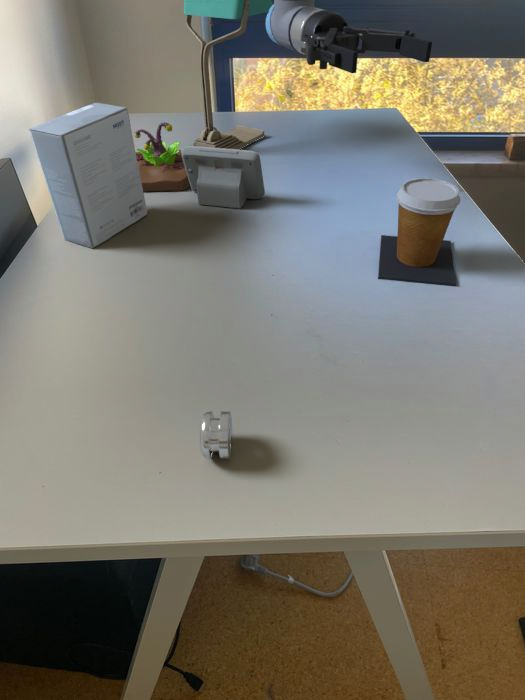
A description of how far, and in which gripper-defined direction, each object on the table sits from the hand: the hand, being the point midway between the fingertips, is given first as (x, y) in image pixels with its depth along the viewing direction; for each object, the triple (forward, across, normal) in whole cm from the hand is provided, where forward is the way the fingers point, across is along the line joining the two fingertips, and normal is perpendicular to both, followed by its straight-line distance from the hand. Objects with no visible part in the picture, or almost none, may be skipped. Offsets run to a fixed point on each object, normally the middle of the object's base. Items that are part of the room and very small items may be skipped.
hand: (393, 57), depth 77 cm
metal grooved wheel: (+35, +45, -28) cm, 64 cm away
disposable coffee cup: (+13, 0, -28) cm, 31 cm away
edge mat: (+13, 0, -28) cm, 31 cm away
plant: (-43, +26, -28) cm, 58 cm away
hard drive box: (-24, +44, -28) cm, 57 cm away
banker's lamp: (-53, +5, -28) cm, 60 cm away
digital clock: (-24, +19, -28) cm, 42 cm away
